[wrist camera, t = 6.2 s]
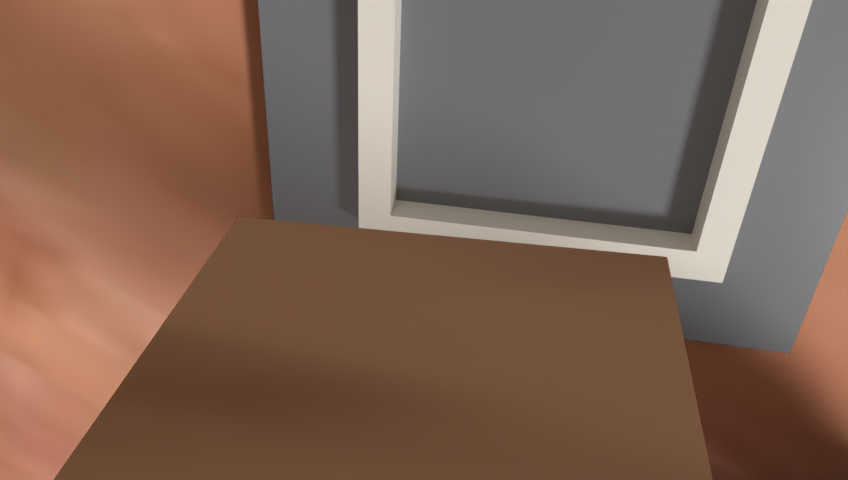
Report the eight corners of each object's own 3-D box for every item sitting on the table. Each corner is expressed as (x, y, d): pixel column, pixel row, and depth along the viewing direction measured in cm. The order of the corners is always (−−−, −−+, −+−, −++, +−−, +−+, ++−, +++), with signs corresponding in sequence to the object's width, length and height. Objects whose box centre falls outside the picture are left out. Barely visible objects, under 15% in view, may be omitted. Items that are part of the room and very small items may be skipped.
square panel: (784, 338, 21) (797, 374, 20) (285, 275, 22) (270, 304, 21) (1030, -286, 13) (1076, -290, 12) (244, -321, 15) (216, -328, 13)
